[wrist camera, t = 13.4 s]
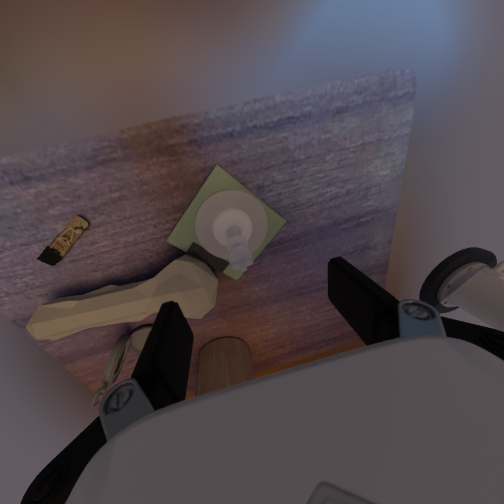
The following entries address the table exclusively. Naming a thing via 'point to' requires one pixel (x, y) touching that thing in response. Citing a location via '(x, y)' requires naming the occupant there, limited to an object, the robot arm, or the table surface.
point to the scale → (208, 207)
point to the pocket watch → (121, 357)
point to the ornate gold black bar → (63, 242)
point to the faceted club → (129, 301)
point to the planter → (223, 365)
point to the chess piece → (234, 236)
